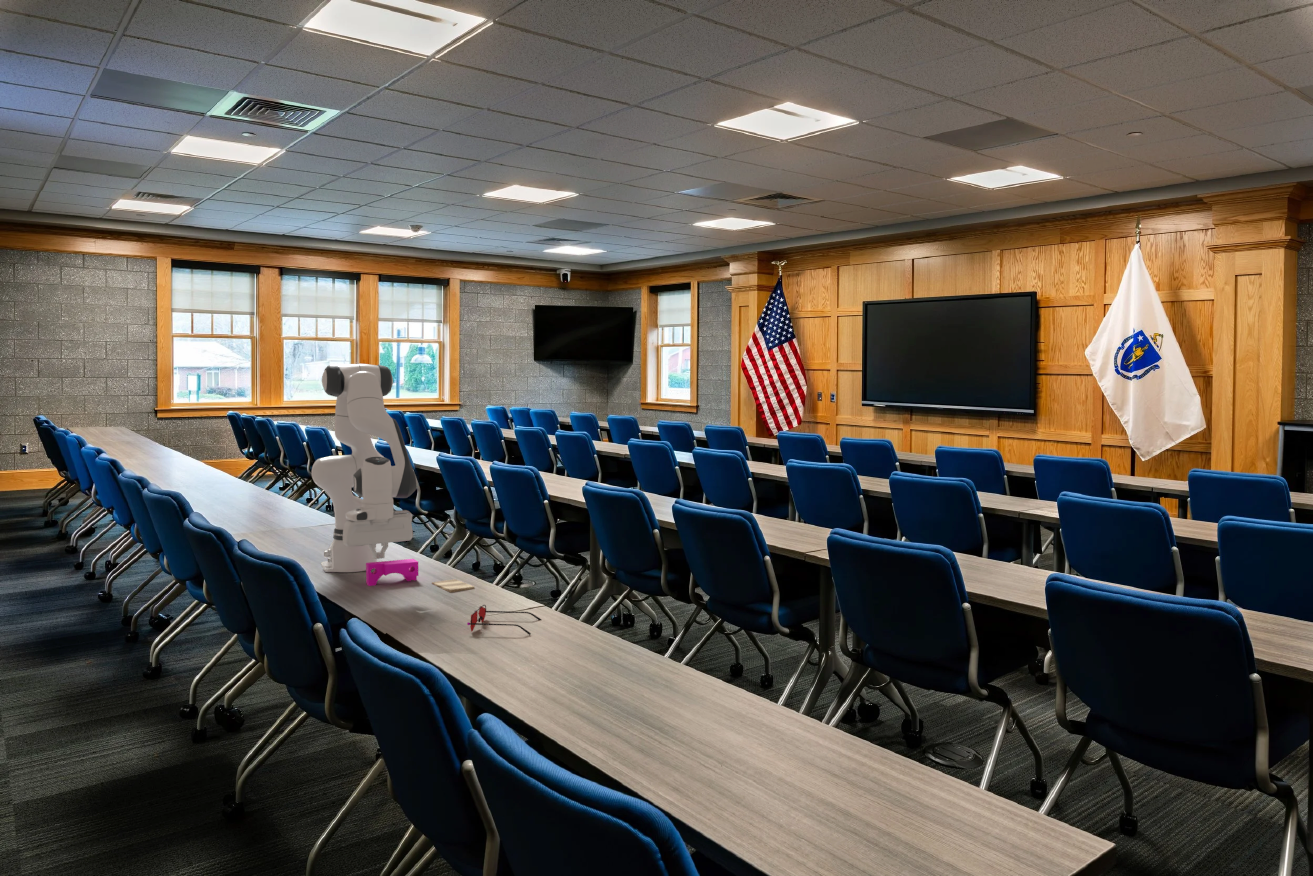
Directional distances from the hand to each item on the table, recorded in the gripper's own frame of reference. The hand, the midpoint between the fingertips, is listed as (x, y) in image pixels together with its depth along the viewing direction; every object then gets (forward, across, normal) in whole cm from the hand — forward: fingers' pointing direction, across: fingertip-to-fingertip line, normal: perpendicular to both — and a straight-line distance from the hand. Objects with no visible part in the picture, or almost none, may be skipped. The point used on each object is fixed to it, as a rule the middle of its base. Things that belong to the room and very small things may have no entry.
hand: (378, 558), depth 264 cm
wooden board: (+12, -23, 0) cm, 26 cm away
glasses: (+13, -15, +51) cm, 55 cm away
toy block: (+5, -10, -16) cm, 20 cm away
